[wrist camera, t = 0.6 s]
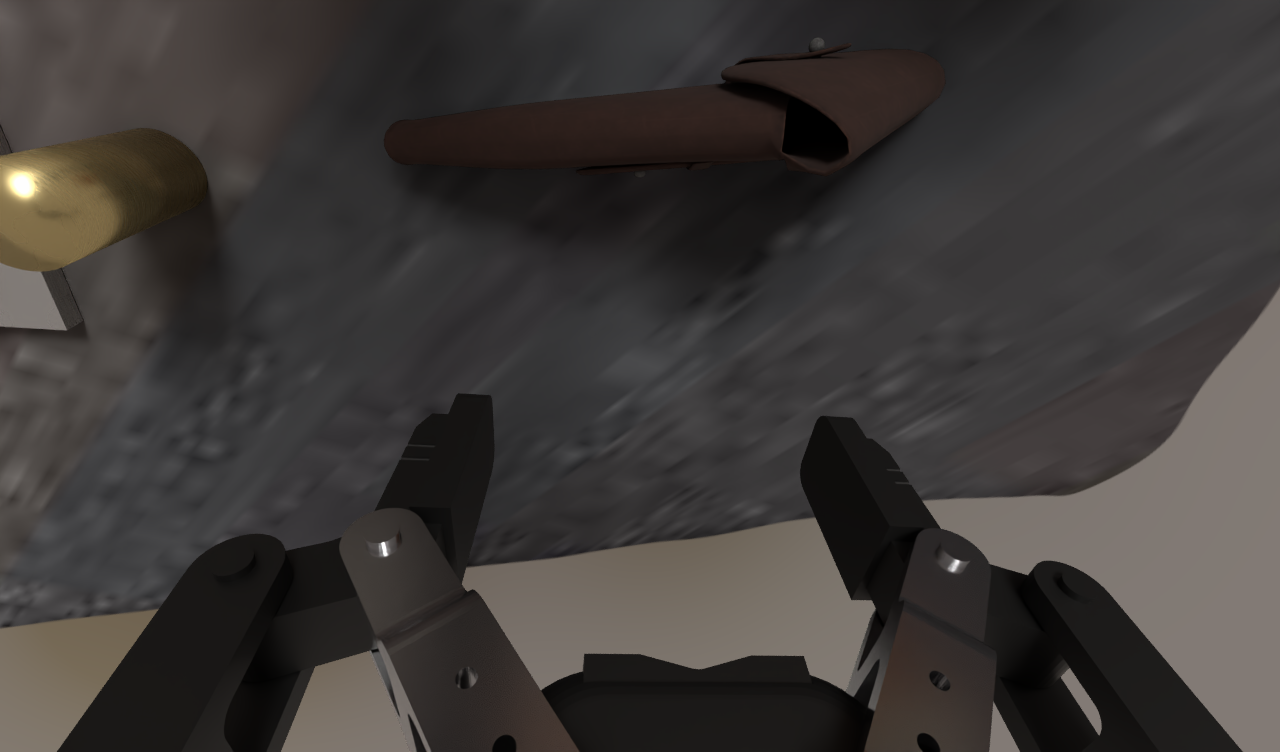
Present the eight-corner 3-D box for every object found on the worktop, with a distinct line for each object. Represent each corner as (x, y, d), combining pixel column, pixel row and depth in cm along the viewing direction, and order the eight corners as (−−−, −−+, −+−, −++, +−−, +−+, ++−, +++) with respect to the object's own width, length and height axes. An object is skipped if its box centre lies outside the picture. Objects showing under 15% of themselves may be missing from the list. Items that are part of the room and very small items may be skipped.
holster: (558, 138, 39) (935, 129, 30) (396, 193, 27) (956, 207, 18) (546, 59, 37) (957, 23, 27) (360, 80, 24) (999, 26, 15)
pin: (100, 122, 25) (-89, 154, 18) (195, 134, 26) (53, 170, 19) (129, 206, 28) (-30, 266, 20) (216, 214, 28) (94, 276, 21)
